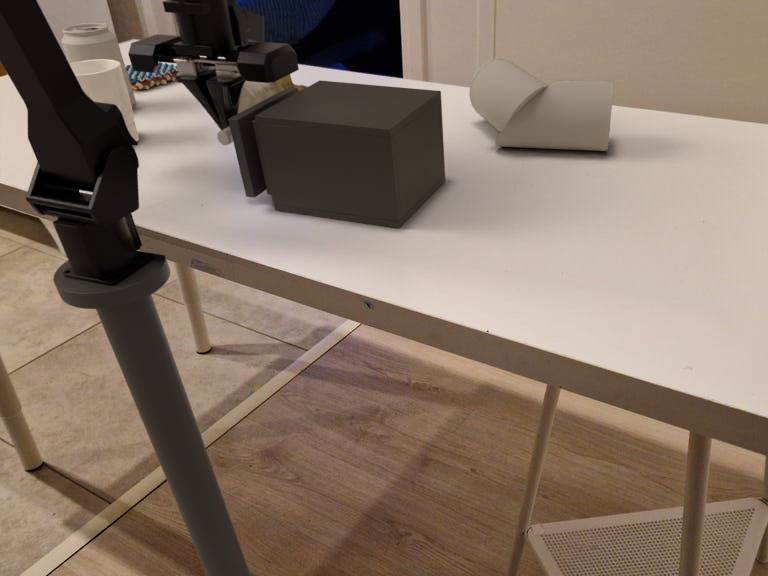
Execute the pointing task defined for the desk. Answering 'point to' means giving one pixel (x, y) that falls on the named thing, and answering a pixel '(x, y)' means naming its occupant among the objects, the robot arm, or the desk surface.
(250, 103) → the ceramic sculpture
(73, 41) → the can
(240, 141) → the drawer
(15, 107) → the desk surface
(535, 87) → the bent grey cylinder
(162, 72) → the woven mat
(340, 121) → the matte charcoal box
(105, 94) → the white cup
